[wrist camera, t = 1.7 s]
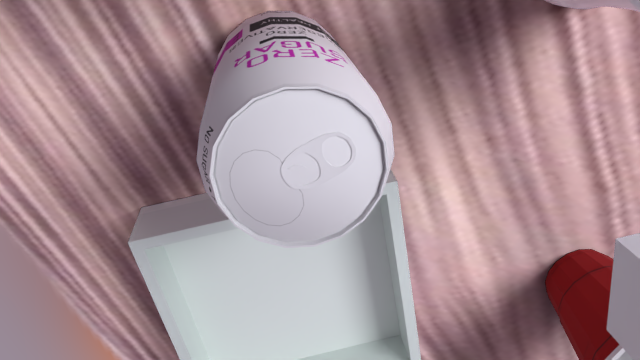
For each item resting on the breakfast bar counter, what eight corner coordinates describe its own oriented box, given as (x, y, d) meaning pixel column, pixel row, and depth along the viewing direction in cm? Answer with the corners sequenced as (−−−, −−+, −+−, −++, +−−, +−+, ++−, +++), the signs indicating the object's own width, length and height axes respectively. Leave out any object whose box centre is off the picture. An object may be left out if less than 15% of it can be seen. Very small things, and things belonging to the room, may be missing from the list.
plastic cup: (516, 236, 41) (609, 343, 31) (642, 212, 42) (776, 309, 31) (511, 333, 46) (589, 455, 36) (623, 311, 47) (734, 424, 36)
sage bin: (141, 207, 36) (127, 242, 32) (380, 153, 36) (397, 180, 32) (211, 377, 44) (207, 422, 40) (406, 331, 44) (422, 371, 40)
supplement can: (260, 153, 35) (266, 290, 22) (190, 50, 32) (147, 139, 18) (362, 96, 34) (434, 202, 21) (303, -18, 31) (344, 24, 17)
